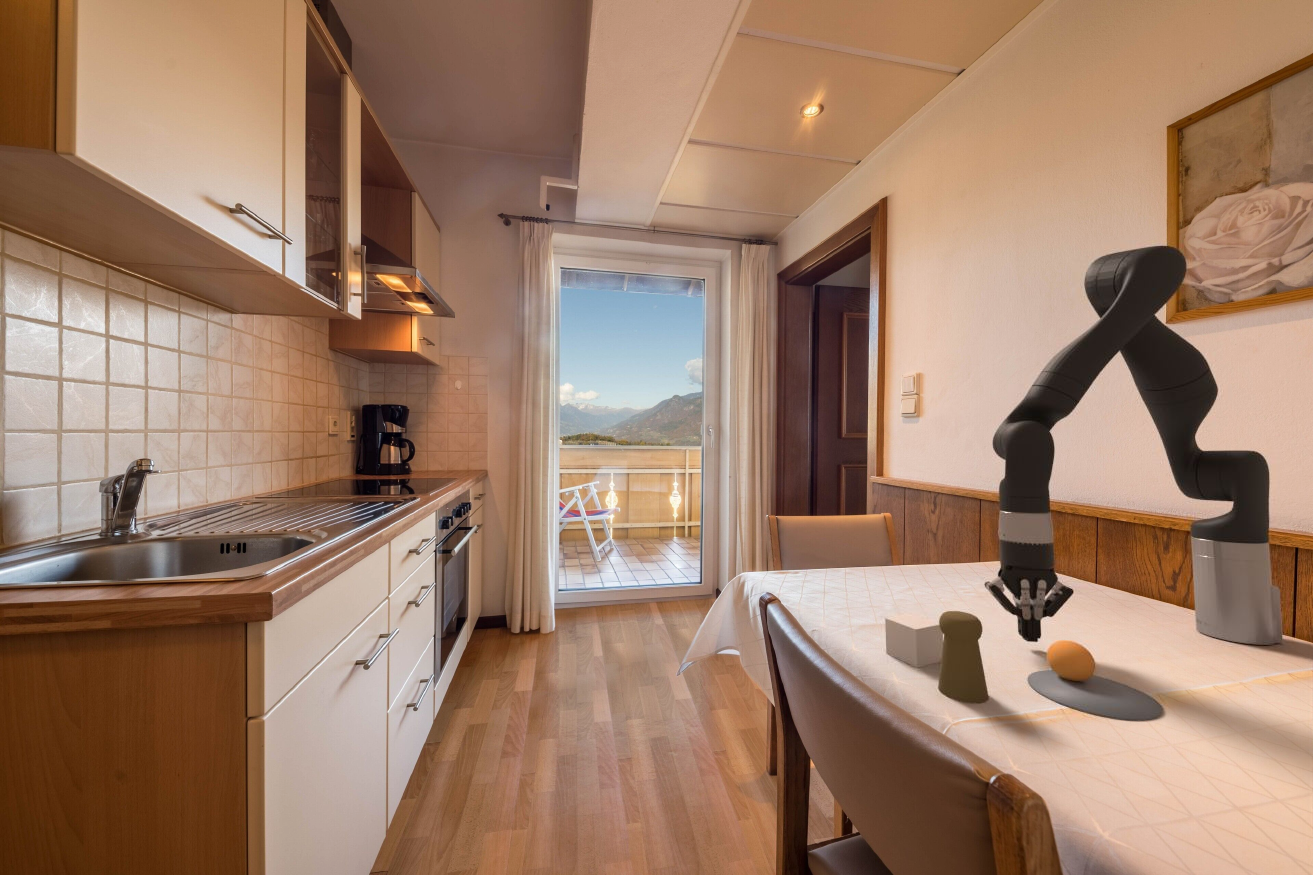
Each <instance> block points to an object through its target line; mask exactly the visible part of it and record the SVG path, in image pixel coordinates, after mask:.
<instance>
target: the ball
mask: <svg viewBox="0 0 1313 875" xmlns="http://www.w3.org/2000/svg"><path fill="white" fill-rule="evenodd" d="M1046 659H1047V663H1048V665H1049V667H1050V668H1051V670H1053V671H1054V672H1056V673H1057V674H1058V675H1059V676H1061V677H1063V678H1065V679H1067V680H1071V681H1084V680H1087V679H1088V678H1090V677H1091V676H1092V675H1094V673H1095V672H1096V671H1095V670H1096V661H1095V658H1094V657H1093V654H1092V653H1091V652H1090V651H1089V649H1087V648H1086V647H1085V646H1083V645H1082V644H1079V643H1078V642H1075V641H1074V640H1073V641H1072V640H1065V639H1064V640H1063V639H1062V640H1057V641H1055V642H1053V643H1051V645H1050V646H1049V647H1048V648H1047V651H1046Z"/></svg>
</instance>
